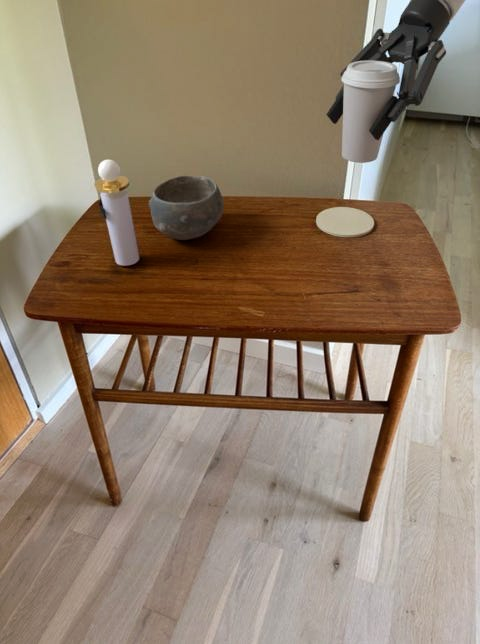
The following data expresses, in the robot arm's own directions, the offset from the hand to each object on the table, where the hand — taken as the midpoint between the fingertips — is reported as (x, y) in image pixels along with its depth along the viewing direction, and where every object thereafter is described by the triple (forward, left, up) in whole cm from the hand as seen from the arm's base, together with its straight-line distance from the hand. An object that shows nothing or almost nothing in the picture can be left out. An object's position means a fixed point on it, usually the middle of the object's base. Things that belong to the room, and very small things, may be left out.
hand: (351, 127), depth 84 cm
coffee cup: (0, -3, -6) cm, 7 cm away
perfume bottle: (+22, +36, -22) cm, 47 cm away
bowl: (+22, +21, -22) cm, 37 cm away
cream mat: (+2, -5, -22) cm, 22 cm away
